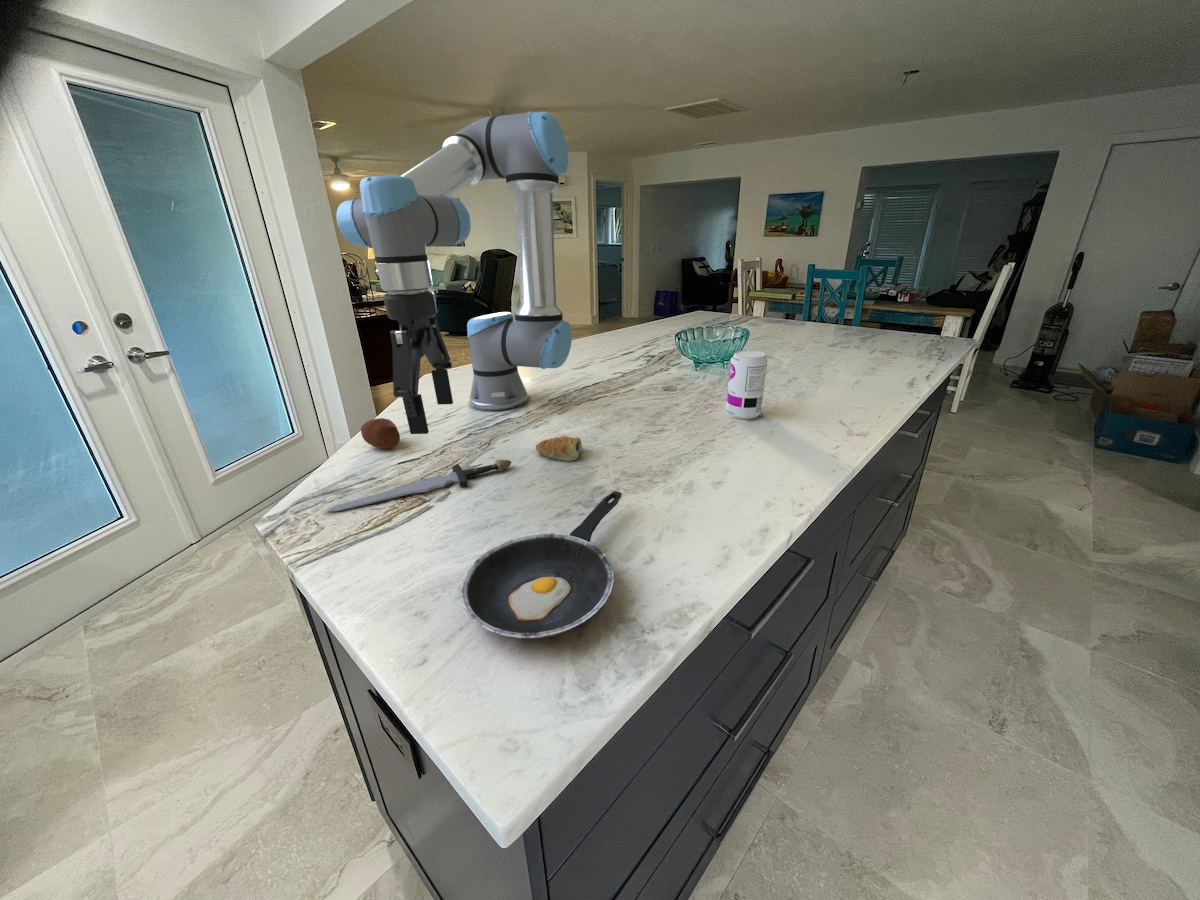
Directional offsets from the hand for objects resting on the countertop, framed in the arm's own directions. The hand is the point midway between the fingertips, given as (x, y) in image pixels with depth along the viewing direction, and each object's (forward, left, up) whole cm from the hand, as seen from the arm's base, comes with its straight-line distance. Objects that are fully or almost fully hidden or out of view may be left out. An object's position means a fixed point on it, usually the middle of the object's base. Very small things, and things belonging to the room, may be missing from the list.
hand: (433, 417), depth 82 cm
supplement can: (-32, +64, -13) cm, 73 cm away
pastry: (-11, +21, -13) cm, 27 cm away
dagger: (+2, -3, -13) cm, 14 cm away
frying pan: (+25, +25, -13) cm, 38 cm away
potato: (-17, -19, -13) cm, 29 cm away
